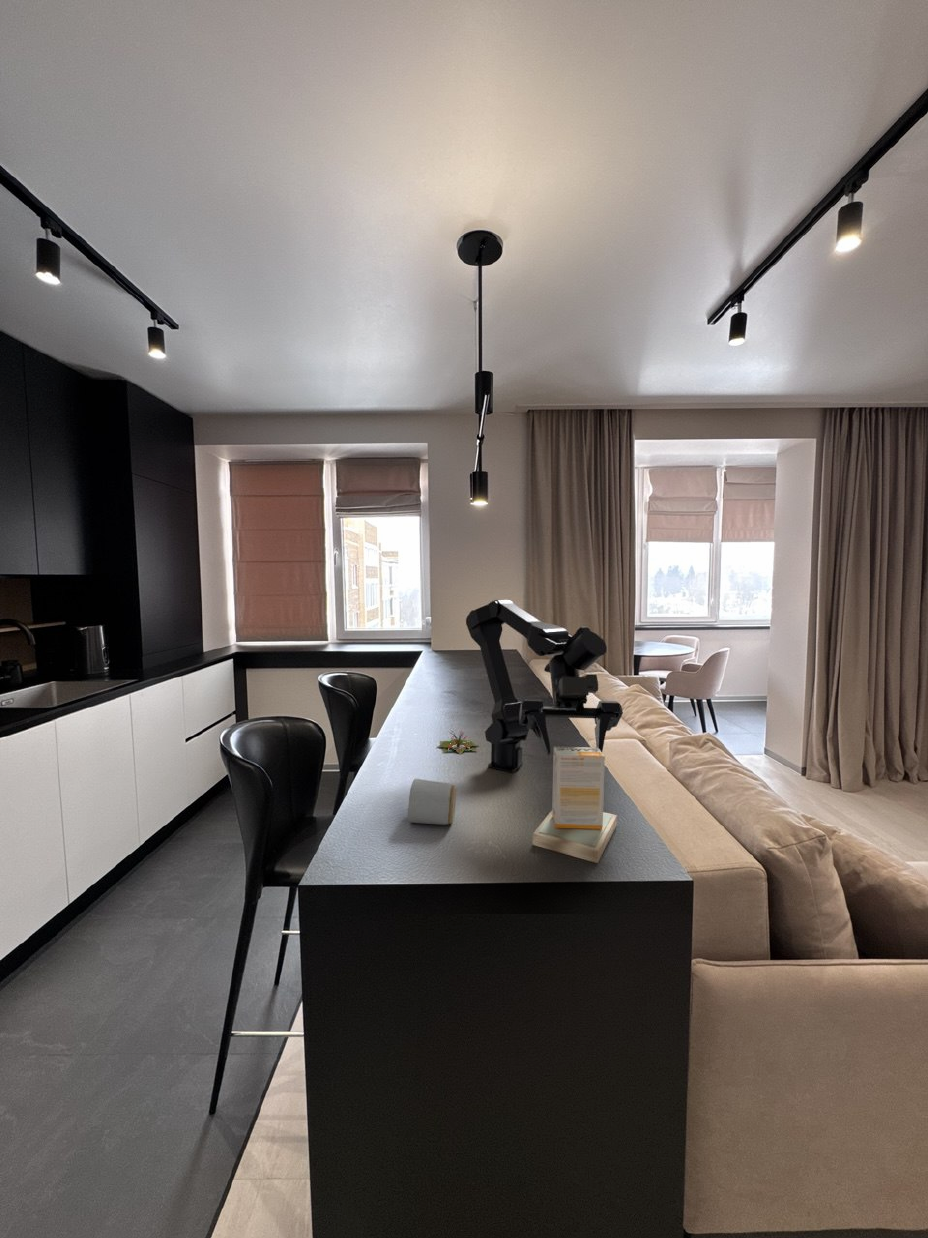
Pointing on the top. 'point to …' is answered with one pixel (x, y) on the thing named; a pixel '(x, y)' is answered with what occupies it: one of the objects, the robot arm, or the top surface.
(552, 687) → the robot arm
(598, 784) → the supplement box
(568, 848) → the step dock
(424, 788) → the ceramic mug
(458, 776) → the top surface
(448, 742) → the lily flower
